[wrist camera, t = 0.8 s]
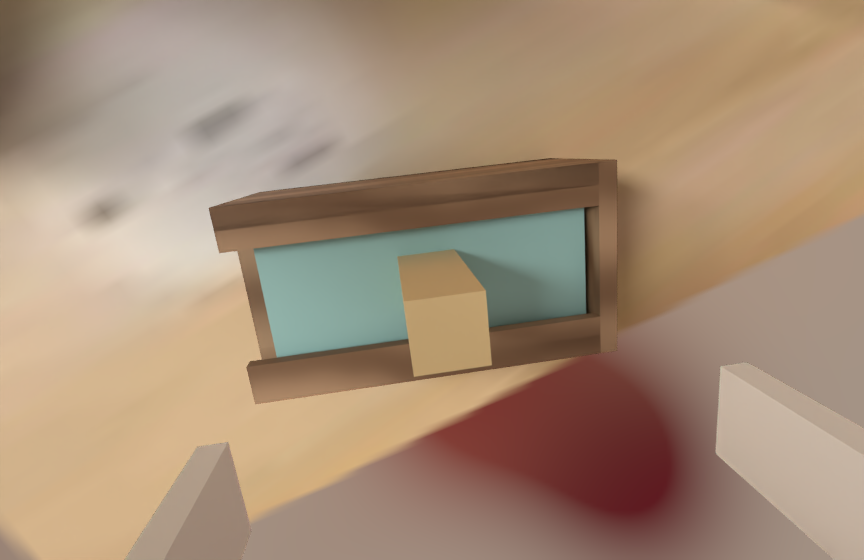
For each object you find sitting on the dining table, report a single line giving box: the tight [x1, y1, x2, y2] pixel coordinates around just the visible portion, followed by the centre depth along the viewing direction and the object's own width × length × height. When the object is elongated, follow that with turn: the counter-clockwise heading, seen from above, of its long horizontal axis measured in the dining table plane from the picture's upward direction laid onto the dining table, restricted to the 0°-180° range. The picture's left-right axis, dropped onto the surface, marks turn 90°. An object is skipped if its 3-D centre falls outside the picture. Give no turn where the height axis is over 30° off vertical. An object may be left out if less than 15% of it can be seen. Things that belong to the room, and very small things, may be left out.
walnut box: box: [209, 158, 617, 404], centre depth 33 cm, size 12×23×11 cm, turn 96°
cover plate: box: [253, 208, 586, 377], centre depth 25 cm, size 9×20×11 cm, turn 96°
